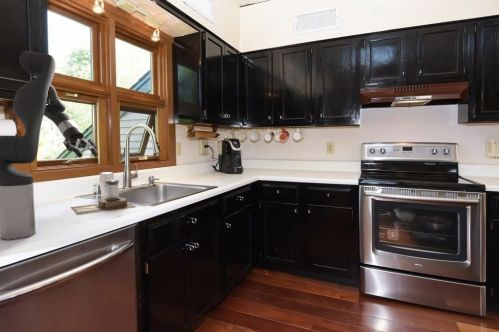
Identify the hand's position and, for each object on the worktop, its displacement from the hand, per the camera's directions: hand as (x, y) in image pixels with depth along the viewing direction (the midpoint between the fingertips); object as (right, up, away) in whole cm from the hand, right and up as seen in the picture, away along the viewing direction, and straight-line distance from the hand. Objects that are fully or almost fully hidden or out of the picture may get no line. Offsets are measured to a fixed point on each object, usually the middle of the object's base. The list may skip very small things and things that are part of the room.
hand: (89, 156), depth 135 cm
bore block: (+9, -25, -4) cm, 27 cm away
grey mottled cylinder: (+12, -23, -1) cm, 26 cm away
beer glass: (-1, -23, +19) cm, 30 cm away
